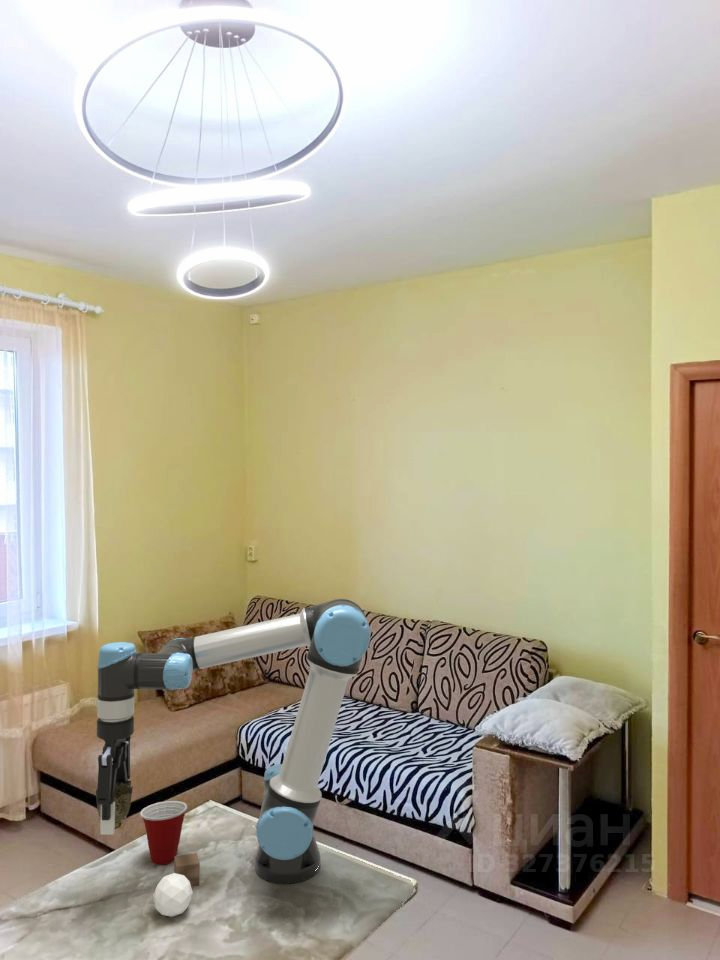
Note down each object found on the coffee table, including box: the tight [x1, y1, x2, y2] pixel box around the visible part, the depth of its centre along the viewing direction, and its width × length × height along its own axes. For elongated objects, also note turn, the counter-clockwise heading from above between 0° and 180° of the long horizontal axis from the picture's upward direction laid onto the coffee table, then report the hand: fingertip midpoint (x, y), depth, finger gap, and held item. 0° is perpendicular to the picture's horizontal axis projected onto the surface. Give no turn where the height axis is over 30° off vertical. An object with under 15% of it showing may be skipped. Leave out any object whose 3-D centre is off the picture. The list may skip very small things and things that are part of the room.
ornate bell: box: [95, 783, 134, 830], centre depth 152 cm, size 8×7×8 cm
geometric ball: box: [152, 872, 194, 918], centre depth 148 cm, size 8×8×8 cm
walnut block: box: [173, 852, 201, 888], centre depth 160 cm, size 5×5×5 cm
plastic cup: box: [140, 800, 188, 866], centre depth 170 cm, size 11×11×12 cm
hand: (113, 825), depth 152 cm, fingers closed on ornate bell, 7 cm apart
